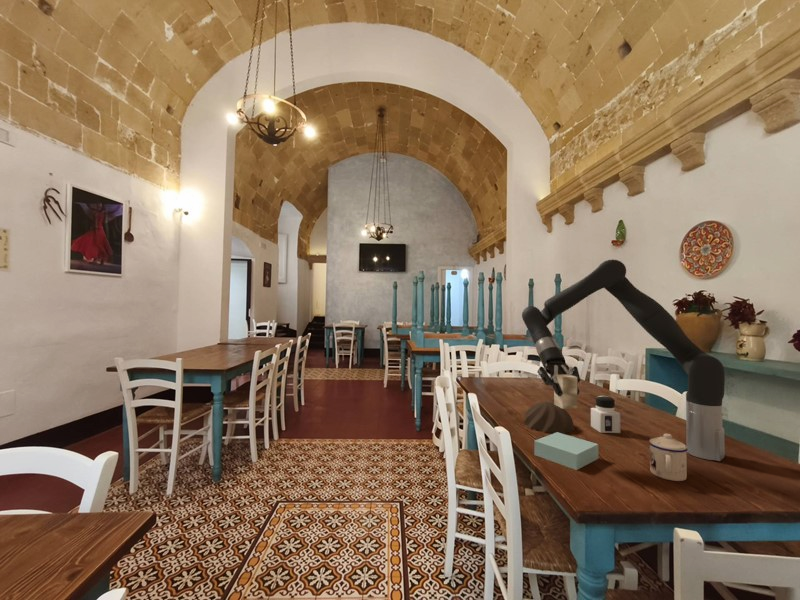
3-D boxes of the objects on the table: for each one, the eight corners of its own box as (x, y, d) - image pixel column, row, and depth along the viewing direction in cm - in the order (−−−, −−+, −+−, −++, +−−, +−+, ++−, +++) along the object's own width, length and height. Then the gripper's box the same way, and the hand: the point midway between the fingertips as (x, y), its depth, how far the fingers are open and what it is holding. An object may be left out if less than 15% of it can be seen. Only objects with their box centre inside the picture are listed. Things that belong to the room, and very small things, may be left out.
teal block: (598, 459, 118) (598, 444, 118) (576, 471, 109) (576, 454, 109) (557, 446, 129) (557, 432, 129) (534, 456, 120) (534, 440, 120)
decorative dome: (517, 428, 147) (518, 403, 148) (530, 416, 164) (530, 393, 164) (570, 438, 137) (570, 411, 137) (577, 424, 153) (577, 400, 154)
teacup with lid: (649, 465, 113) (648, 427, 113) (686, 473, 108) (686, 433, 108) (648, 480, 103) (648, 438, 103) (689, 489, 98) (689, 445, 98)
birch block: (568, 404, 123) (568, 374, 123) (577, 408, 118) (577, 377, 118) (554, 404, 122) (554, 374, 122) (562, 408, 117) (562, 377, 117)
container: (620, 433, 142) (620, 399, 142) (600, 433, 142) (600, 399, 142) (609, 426, 149) (609, 394, 149) (590, 426, 149) (590, 394, 150)
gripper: (534, 346, 126) (552, 389, 114) (572, 346, 128) (595, 388, 116) (526, 359, 132) (543, 401, 120) (563, 359, 133) (584, 400, 121)
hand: (568, 394), depth 118 cm, fingers closed on birch block, 5 cm apart
